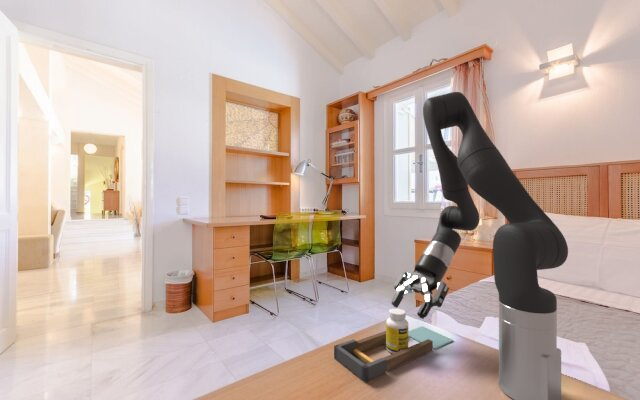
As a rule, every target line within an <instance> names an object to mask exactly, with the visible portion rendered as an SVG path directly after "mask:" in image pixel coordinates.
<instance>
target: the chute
mask: <svg viewBox="0 0 640 400" xmlns="http://www.w3.org/2000/svg"><path fill="white" fill-rule="evenodd" d="M382 345H386V330H385V331H381V332H378V333H376V334H373V335H369V336H367V337H364V338H361V339H359V340H356V349H357V350H359V351H360V352H362V353H364V352H366V351H369V350H372V349H375V348H377V347H379V346H382ZM433 351H434V349H433V341H432V340H429V339H428V340H425V341H423V342H418V343H416V344H414V345H411V346H408V348H406V349H403V350H401V351H398V352H396V353H394V354H392V353H390V354H389V355H387V356H384V357H383V358H384V359H386V373H387V372H390V371H392V370H394V369H397V368H398V367H401V366H403V365H404V364H407V363H409V362H411V361H413V360H416V359H418V358H420V357H422V356H425V355H427V354H429V353H432V352H433Z"/></svg>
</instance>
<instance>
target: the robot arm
mask: <svg viewBox="0 0 640 400" xmlns="http://www.w3.org/2000/svg"><path fill="white" fill-rule="evenodd" d="M422 116H423V122H424V125H425V129H426V132H427V135H428V138H429V142H430V146H431V149H432V152H433V155H434V158H435V161H436V165H437V170H438V173H439V177H440V179H439V180H440V184H441V191H442V192H441V193H442V197H443V198H444V200H446V201H448V202H449V201H450V202H453V203H454V204H456V205H449V206H446V207H444V208H443V209H442V210H441V212H440V215H439V219H438V222H437V223H438V224H437V228H436V231H435V233H434V235H433V237H432V239H431V240H430V242H429V243H428V245H427V246H426V247H425V249H424V250H423V252H422V254H421V256H420V257H419V259H418V260H417V262H416V264H415V266H414V271H413V272H412V273H408V272H407V270H403V271H401V273H400V274H399V276H398V278H397V279H396V281H395V282H394V284H393V285H392V288H393V289H394V290H395V291H396V292H395V293H394V296H393V297H392V299H391V301H390V302H391V305H392V306H393V307H394V308H396V309H398V307H399V306H400V304H401V303H402V301H403V299H404V296H406V295H408V294H412V293H417V294H421V295H422V296H424V300H425V301H423V302H422V303H421V305H420V306H419V309H418V310H417V316H418V317H419V319H422V320H424V319H425V318H427V316H428V315H429V313H430V311H431V309H432V308H433V307H437V308H441V307H442V306H443V303H444V301H445V299H446V297H447V295H448V293H449V290H450V287H449V285H447V283H446V282H445V281H444V280H443V278H444V276H445V274H446V273H447V271H448V269H449V267H450V266H451V264H452V262H453V259H454V256H455V254H456V252H457V250H458V249H459V247H460V246H461V242H462V237H461V235H460V233H458V232H457V231H455V230H458V231H466V232H467V231H468V232H469V231H470V232H471V231H472V232H473V231H474V230H475V229H477V227H479V224H480V213H479V210H478V208H477V205H476V204H475V201H474V199H473V197H472V195H471V192H470V190H469V188H470V189H471V190H473V192H474V193H475V194H477V195H478V196H479V197H481V199H483V200H485V201H486V202H488V203H489V204H490V205H491V206H493V207H494V208H495V209H497V210H498V211H499V212H500V213H501V214H502V215H503V216H504V218H505V219H506V220H507V221H508V223H505V224H502V225H501V226H499V227H498V228H497V229H496V232H495V233H494V236H493V239H492V241H493V242H492V259H493V262H492V263H493V274H494V275H493V276H494V279H493V280H494V284H495V288H496V290H497V293H498V385H499V388H500V390H501V391H502V392H503V393H504V394H505V395H506V396H508V397H510V398H511V399H512V400H562V350H561V348H558V346H557V345H558V344H557V343H558V341H557V339H558V337H557V336H558V335H557V331H558V329H557V326H558V325H557V322H558V321H557V320H558V319H557V314H558V311H557V309H558V304H557V303H558V301H557V296H556V294H555V293H554V292H552V291H550V290H549V289H546V288H543V287H541V286H540V284H539V278H538V277H539V275H538V271H542V270H551V269H556V268H559V267H560V266H562V265H564V264H565V262H566V261H567V258H568V256H569V255H568V254H569V248H568V247H569V245H568V243H567V241H566V238H565V236H564V235H563V232H562V231H561V230H560V228H559V227H558V226H557V224H555V223H554V222H553V220H552V219H551V218H550V217H549V216H548V215H547V214H546V213H545V211H544V210H543V209H542V208H541V207H540V205H538V203H537V202H536V201H535V200H534V199H533V197H532V196H531V194H530V193H529V192H528V191H527V189H526V188H525V187H524V185H523V184H522V182H521V181H520V179H518V177H517V176H516V175H515V173H514V172H513V170H512V168H511V167H510V165H509V164H508V162H507V161H506V159H505V158H504V156H503V155H502V153H501V151H500V150H499V149H498V148H497V146H496V145H495V143H493V141H492V139H491V138H490V137H489V135H488V134H487V132H486V131H485V129H484V128H483V126H482V125H481V122H480V121H479V119H478V117H477V115H476V113H475V111H474V109H473V107H472V106H471V103H470V101H469V100H468V99H467V97H466V95H465V94H463V93H462V92H461V91H451V92H448V93H445V94H444V93H443V94H440V95H435V96H432V97H429V98H427V99H426V100H425V101H424V103H423V107H422ZM453 127H458V129H459V130H460V131H461V134H462V135H461V136H462V138H461V142H460V145H459V148H458V152H457V155H456V154H455V153H454V152H453V151H452V150H451V149H450V148H449V146H448V145H447V143H446V142H445V140H444V137H443V132H442V130H446V129H449V128H453ZM434 290H436V291H435V293H434V292H433V291H434Z"/></svg>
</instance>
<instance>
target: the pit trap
mask: <svg viewBox="0 0 640 400" xmlns="http://www.w3.org/2000/svg"><path fill="white" fill-rule="evenodd" d="M356 341H357V340H355V338H354V339H350V340H348V341H344V342H342V343H338V344H335V345H333V357H334V360H335V361H337V362H338V363H339V364H341V365H342V366H343V367H344V368H346V369H347V370H348V371H349V372H350V373H352V374H353V375H354V376H356V377H357V378H358V379H359V380H360V381H362V382H363V383H368V382H370V381H372V380H375V379H376V378H379V377H381V376H383V375H386V374H387V372H386V359H384V357H380V358H378V359H376V360H375V359H372V358H371V357H370V356H368V355H366V354H365V353H364V352H360V351H359V350H357V349H356Z"/></svg>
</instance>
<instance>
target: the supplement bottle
mask: <svg viewBox="0 0 640 400" xmlns="http://www.w3.org/2000/svg"><path fill="white" fill-rule="evenodd" d="M388 311H389V313H388V318H387V319H386V320H385V321H386V323H385V324H386V325H385V326H386V327H385V331H386V343H385V348H386V351H388V352H389V353H390V354H394V353H396V352H398V351H401V350H403V349H406V348H408V347H409V337H408V331H409V321H408V320H407V319H406V316H407V315H406V313H407V312H406V311H405V309H402V308H396V307H394V308H389V310H388Z"/></svg>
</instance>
